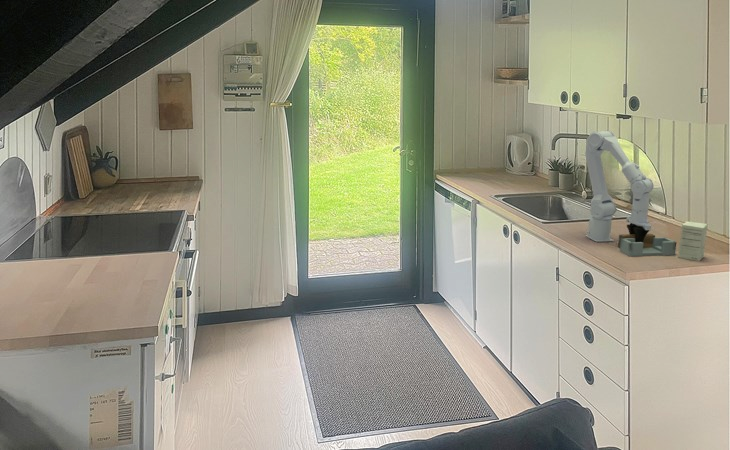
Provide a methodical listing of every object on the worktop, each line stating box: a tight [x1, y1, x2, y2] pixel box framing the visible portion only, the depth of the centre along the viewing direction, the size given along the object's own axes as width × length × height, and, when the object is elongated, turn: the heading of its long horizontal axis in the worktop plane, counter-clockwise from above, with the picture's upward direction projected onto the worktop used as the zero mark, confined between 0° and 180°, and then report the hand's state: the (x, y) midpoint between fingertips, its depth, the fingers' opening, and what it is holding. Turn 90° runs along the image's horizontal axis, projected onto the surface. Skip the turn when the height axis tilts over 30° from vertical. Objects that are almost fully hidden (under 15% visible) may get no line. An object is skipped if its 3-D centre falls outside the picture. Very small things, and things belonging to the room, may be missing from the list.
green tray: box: [619, 236, 677, 257], centre depth 231 cm, size 7×18×5 cm, turn 96°
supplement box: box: [678, 221, 709, 262], centre depth 225 cm, size 7×7×13 cm
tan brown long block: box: [617, 233, 656, 249], centre depth 239 cm, size 3×13×5 cm, turn 96°
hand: (636, 243), depth 239 cm, fingers closed on tan brown long block, 3 cm apart
